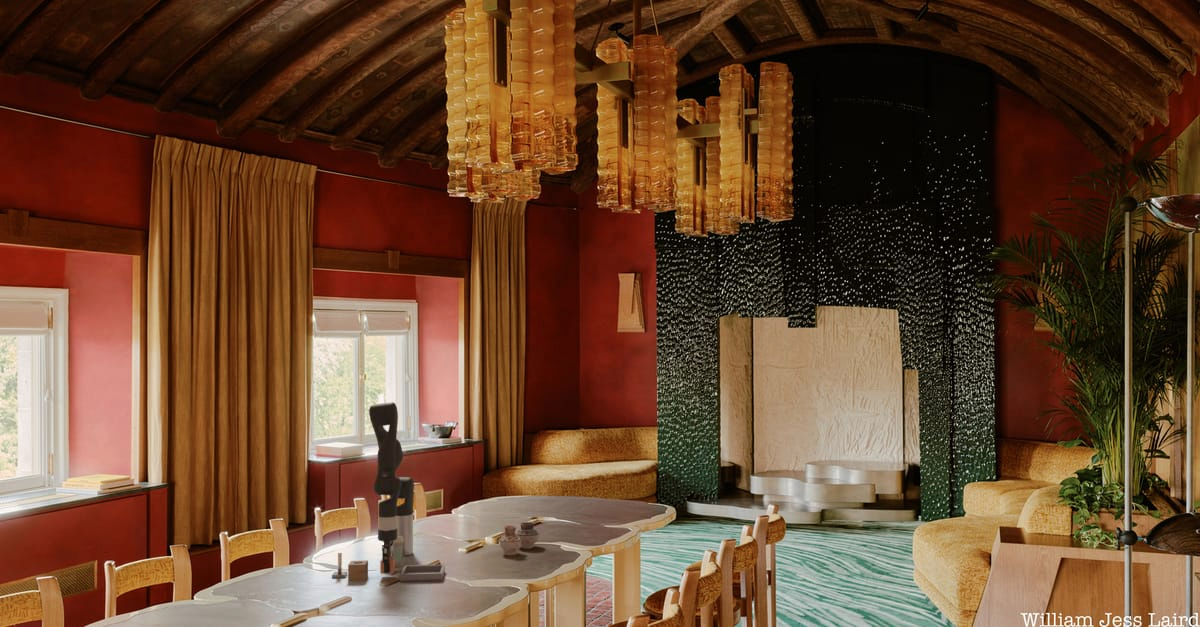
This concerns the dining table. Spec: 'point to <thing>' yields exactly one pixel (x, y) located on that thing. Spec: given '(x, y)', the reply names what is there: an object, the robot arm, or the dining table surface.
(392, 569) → the block
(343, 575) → the pin gauge stand
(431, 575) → the tray
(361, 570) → the block
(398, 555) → the coffee cup
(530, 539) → the pottery
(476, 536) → the dining table surface
